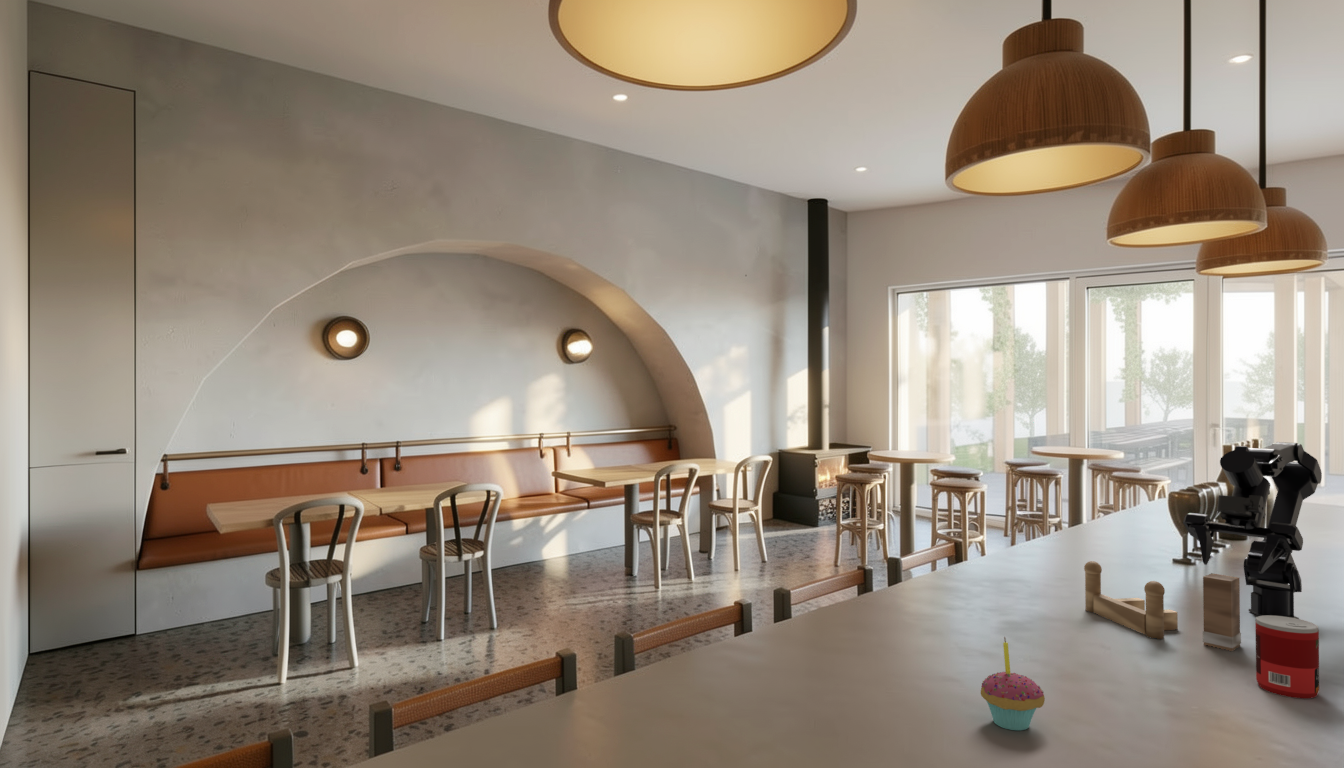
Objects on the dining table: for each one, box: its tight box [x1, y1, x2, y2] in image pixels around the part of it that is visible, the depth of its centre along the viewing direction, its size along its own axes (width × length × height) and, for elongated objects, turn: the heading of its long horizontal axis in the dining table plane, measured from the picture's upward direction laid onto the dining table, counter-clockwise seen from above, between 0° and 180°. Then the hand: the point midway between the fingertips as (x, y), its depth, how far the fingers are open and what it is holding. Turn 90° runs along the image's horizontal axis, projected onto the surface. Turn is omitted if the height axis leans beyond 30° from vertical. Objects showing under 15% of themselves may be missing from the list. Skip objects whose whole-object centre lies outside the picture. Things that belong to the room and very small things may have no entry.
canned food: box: [1254, 615, 1320, 700], centre depth 124 cm, size 8×8×11 cm
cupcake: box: [980, 636, 1046, 731], centre depth 111 cm, size 9×8×12 cm
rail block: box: [1202, 572, 1242, 652], centre depth 145 cm, size 5×5×13 cm
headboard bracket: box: [1083, 560, 1179, 640], centre depth 160 cm, size 10×21×11 cm, turn 7°
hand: (1231, 567), depth 150 cm, fingers open, 9 cm apart
